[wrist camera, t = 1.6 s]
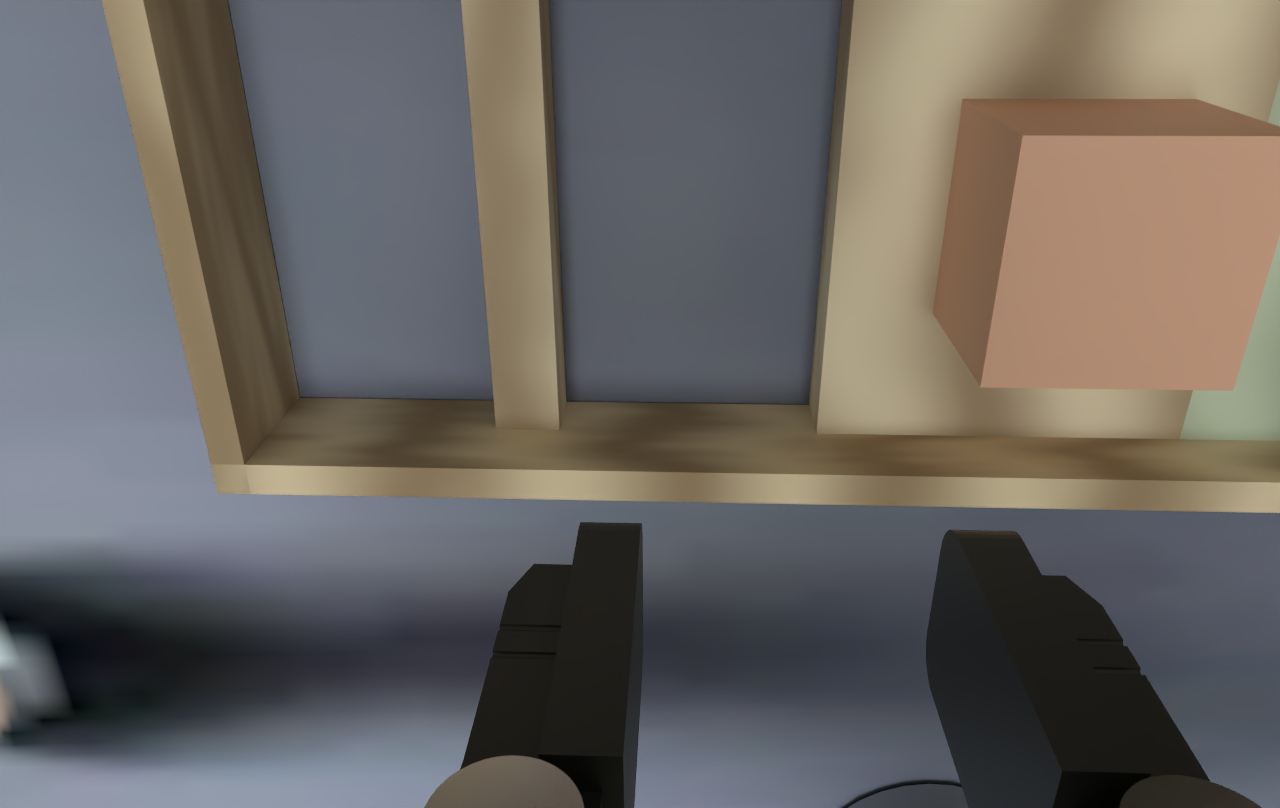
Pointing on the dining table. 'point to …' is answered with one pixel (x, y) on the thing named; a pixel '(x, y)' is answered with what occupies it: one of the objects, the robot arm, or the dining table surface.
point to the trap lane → (847, 297)
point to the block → (1107, 242)
